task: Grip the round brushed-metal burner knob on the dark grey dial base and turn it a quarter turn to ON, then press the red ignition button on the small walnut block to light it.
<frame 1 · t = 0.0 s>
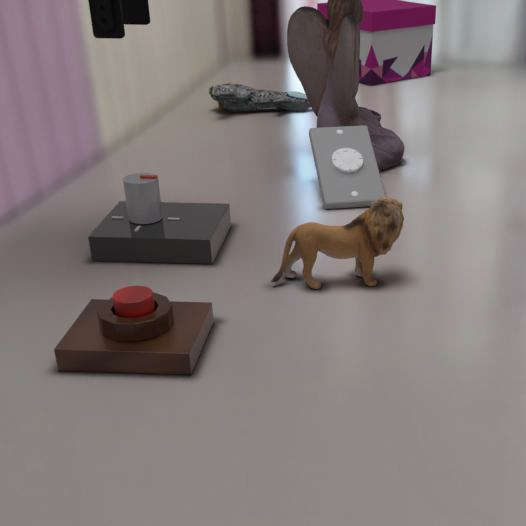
hand: (123, 30, 87), 24 cm above the table, tool pointing down, fingers open, 9 cm apart
lion figurine: (341, 280, 88), on the table
jagged slate chunk: (262, 112, 155), on the table
dark grey dial base: (165, 242, 97), on the table
ignite button: (134, 302, 73), point 4 cm above the table, slide at 0.1 cm
hob knob: (142, 197, 94), point 6 cm above the table, hinge at 0.0°
decorative box: (374, 74, 187), on the table
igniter: (140, 345, 75), on the table
light switch: (346, 193, 113), on the table
figurine: (352, 160, 127), on the table
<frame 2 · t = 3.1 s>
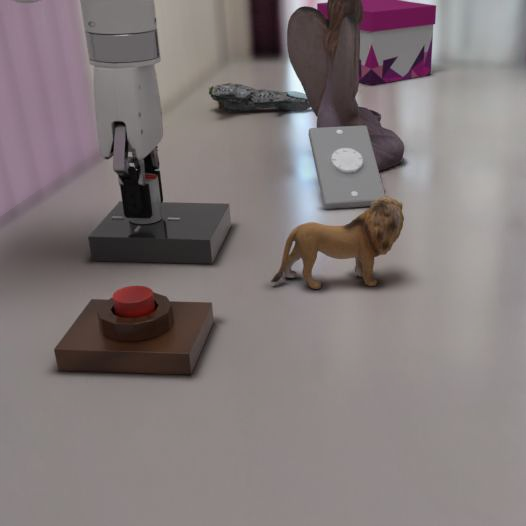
hand: (144, 208, 95), 4 cm above the table, tool pointing down, fingers closed on hob knob, 4 cm apart
hob knob: (142, 197, 94), point 6 cm above the table, hinge at 0.0°, touching gripper
everything else where it was.
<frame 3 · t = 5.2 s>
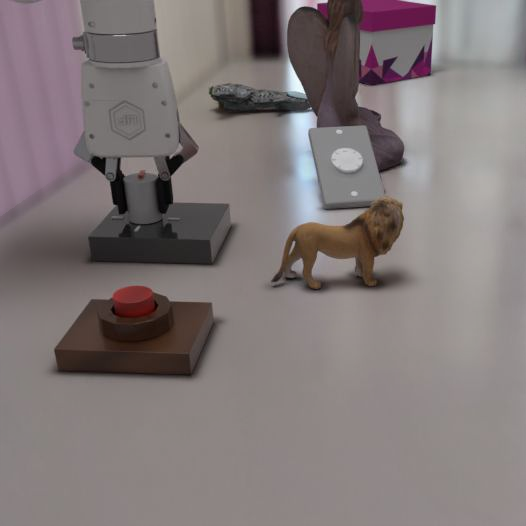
hand: (144, 208, 95), 4 cm above the table, tool pointing down, fingers closed on hob knob, 4 cm apart
hob knob: (142, 197, 94), point 6 cm above the table, hinge at 96.5°, touching gripper
everything else where it was.
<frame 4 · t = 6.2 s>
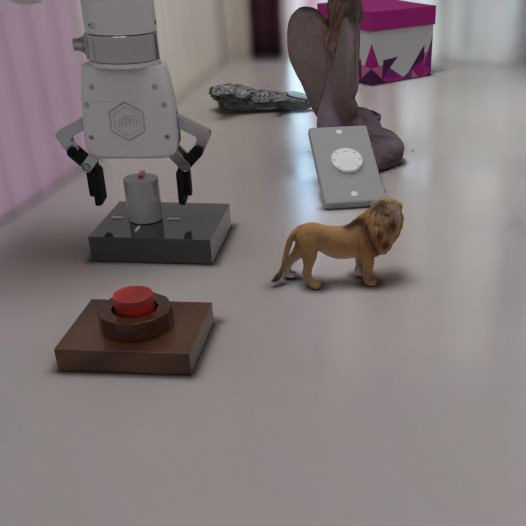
hand: (142, 201, 94), 5 cm above the table, tool pointing down, fingers open, 9 cm apart
hob knob: (142, 197, 94), point 6 cm above the table, hinge at 96.4°
everything else where it was.
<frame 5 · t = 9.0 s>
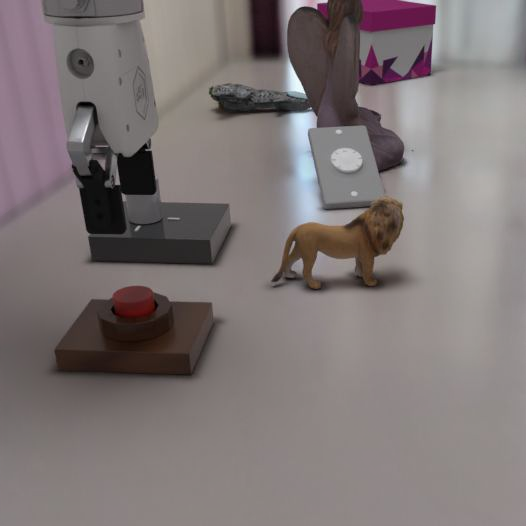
hand: (124, 212, 69), 13 cm above the table, tool pointing down, fingers open, 9 cm apart
nothing on the table moved.
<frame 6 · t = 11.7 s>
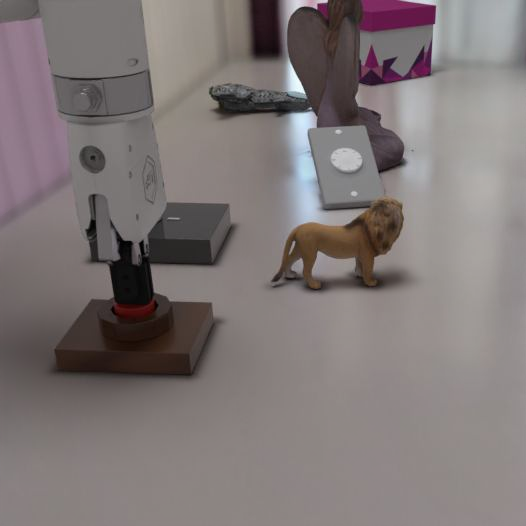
hand: (135, 300, 73), 5 cm above the table, tool pointing down, fingers closed
ignite button: (134, 308, 73), point 4 cm above the table, slide at -0.5 cm, touching gripper
everything else where it was.
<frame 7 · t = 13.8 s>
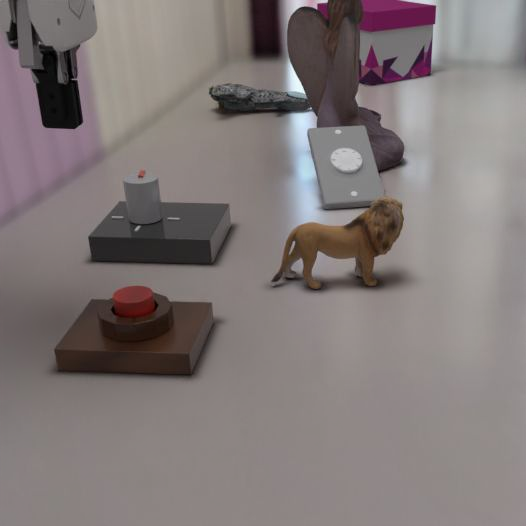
hand: (63, 125, 73), 18 cm above the table, tool pointing down, fingers closed
ignite button: (134, 302, 73), point 4 cm above the table, slide at 0.1 cm
everything else where it was.
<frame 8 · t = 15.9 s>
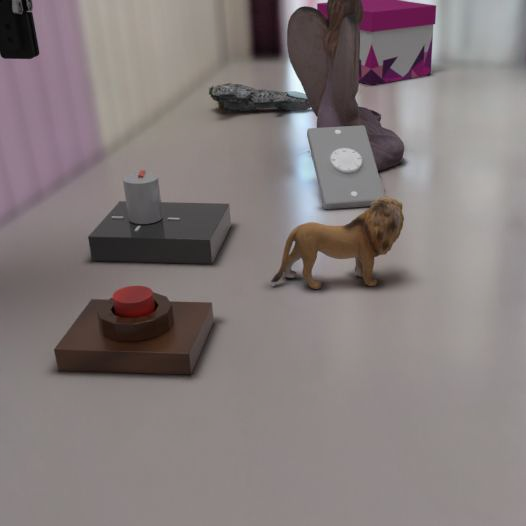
hand: (20, 56, 77), 23 cm above the table, tool pointing down, fingers closed
nothing on the table moved.
at the end: hob knob at +96° (first picture: +0°); ignite button pushed in 1.1 cm at the most during the clip, back to where it started at the end; ignite button slide at 0.1 cm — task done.
